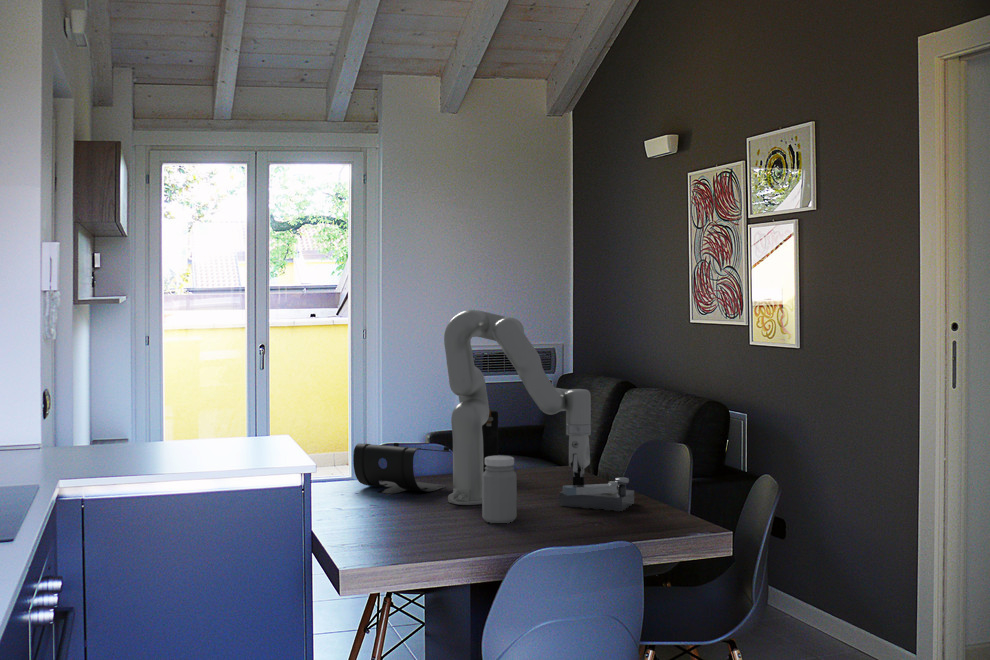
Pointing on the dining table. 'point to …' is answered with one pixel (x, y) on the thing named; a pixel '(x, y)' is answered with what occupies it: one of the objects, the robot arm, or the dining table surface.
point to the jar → (499, 490)
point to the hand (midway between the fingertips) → (578, 489)
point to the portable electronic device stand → (389, 468)
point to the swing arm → (594, 487)
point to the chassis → (600, 500)
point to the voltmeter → (490, 436)
